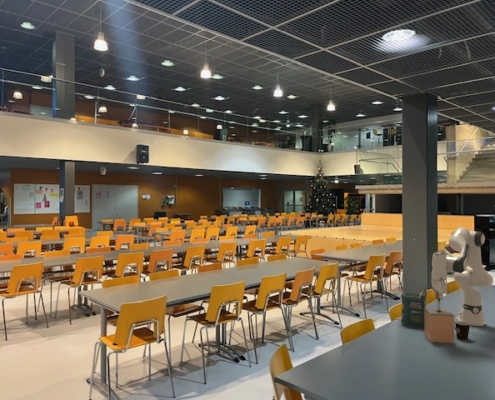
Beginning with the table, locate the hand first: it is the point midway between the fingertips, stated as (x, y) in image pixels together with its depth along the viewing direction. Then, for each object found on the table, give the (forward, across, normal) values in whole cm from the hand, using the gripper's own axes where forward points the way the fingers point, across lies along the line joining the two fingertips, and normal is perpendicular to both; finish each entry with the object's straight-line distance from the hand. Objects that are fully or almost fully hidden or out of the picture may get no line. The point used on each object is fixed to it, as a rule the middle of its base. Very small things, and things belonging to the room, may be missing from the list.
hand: (439, 297), depth 251 cm
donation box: (+27, +32, +8) cm, 43 cm away
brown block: (+27, 0, 0) cm, 27 cm away
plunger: (+15, 0, 0) cm, 15 cm away
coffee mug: (+27, +6, -16) cm, 32 cm away
